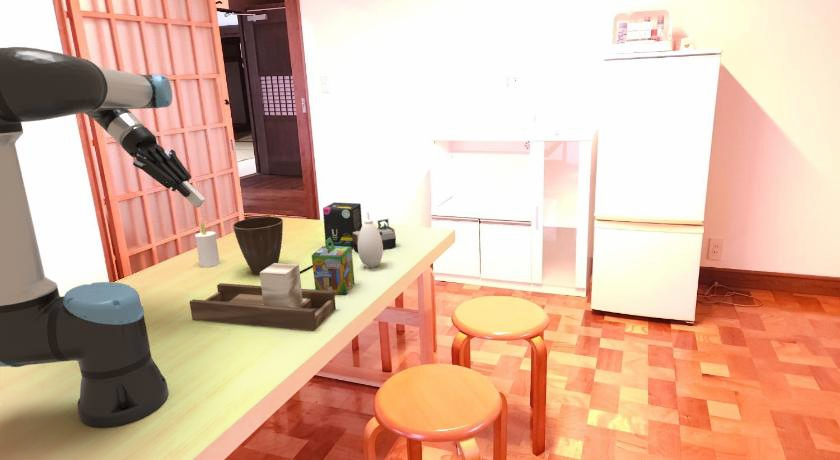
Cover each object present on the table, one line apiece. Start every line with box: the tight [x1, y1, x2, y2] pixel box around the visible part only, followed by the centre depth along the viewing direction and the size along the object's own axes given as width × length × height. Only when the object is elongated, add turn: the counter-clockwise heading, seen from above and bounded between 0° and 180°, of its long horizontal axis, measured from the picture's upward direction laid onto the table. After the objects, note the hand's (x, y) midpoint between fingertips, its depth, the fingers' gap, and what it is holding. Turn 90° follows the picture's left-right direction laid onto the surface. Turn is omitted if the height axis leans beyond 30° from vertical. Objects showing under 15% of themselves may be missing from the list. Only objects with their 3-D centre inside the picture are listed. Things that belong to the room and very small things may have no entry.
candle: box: [194, 221, 221, 269], centre depth 181 cm, size 6×6×15 cm
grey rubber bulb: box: [357, 212, 384, 269], centre depth 172 cm, size 8×8×18 cm
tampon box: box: [322, 202, 363, 250], centre depth 197 cm, size 11×9×15 cm
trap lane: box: [189, 282, 337, 332], centre depth 142 cm, size 13×34×5 cm, turn 75°
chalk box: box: [311, 237, 356, 295], centre depth 156 cm, size 9×9×15 cm
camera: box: [352, 218, 397, 254], centre depth 191 cm, size 15×8×10 cm, turn 115°
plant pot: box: [232, 216, 284, 276], centre depth 173 cm, size 15×15×16 cm
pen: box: [300, 264, 313, 275], centre depth 173 cm, size 1×19×1 cm, turn 153°
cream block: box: [259, 262, 303, 307], centre depth 138 cm, size 7×7×10 cm
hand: (200, 203), depth 136 cm, fingers closed
